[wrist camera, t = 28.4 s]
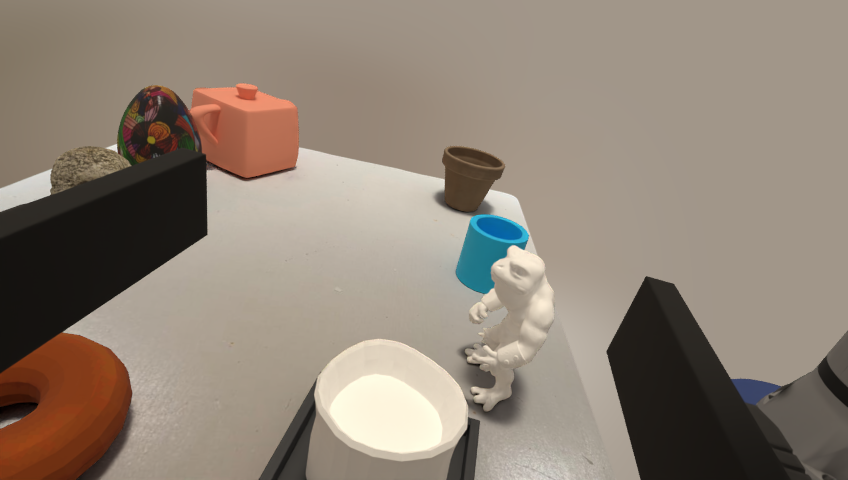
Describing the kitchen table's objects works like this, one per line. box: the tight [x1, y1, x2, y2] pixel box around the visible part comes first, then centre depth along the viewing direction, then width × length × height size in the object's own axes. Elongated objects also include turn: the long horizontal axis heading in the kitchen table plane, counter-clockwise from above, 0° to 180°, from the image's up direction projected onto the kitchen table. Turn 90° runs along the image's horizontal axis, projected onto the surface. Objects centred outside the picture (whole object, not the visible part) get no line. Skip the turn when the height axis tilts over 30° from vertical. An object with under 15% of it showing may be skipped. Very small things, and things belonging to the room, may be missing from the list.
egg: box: [117, 85, 202, 166], centre depth 65 cm, size 11×11×15 cm
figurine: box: [465, 245, 555, 412], centre depth 43 cm, size 11×7×15 cm, turn 1°
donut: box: [0, 333, 132, 480], centre depth 30 cm, size 15×15×5 cm
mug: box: [456, 214, 529, 294], centre depth 64 cm, size 12×8×8 cm
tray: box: [259, 372, 480, 480], centre depth 33 cm, size 15×15×2 cm
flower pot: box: [442, 146, 505, 212], centre depth 85 cm, size 12×11×10 cm
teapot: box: [189, 84, 299, 178], centre depth 81 cm, size 20×22×14 cm
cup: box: [306, 339, 468, 480], centre depth 31 cm, size 10×10×10 cm
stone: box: [50, 146, 132, 195], centre depth 54 cm, size 6×10×10 cm, turn 87°
